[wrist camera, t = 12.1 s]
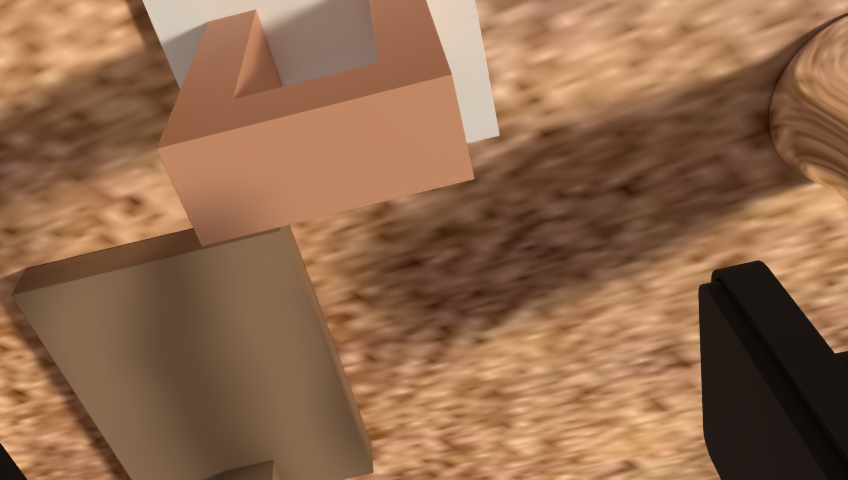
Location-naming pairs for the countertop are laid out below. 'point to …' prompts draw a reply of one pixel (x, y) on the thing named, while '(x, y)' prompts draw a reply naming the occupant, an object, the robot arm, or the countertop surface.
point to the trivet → (334, 43)
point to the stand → (201, 358)
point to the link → (311, 127)
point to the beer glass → (815, 109)
